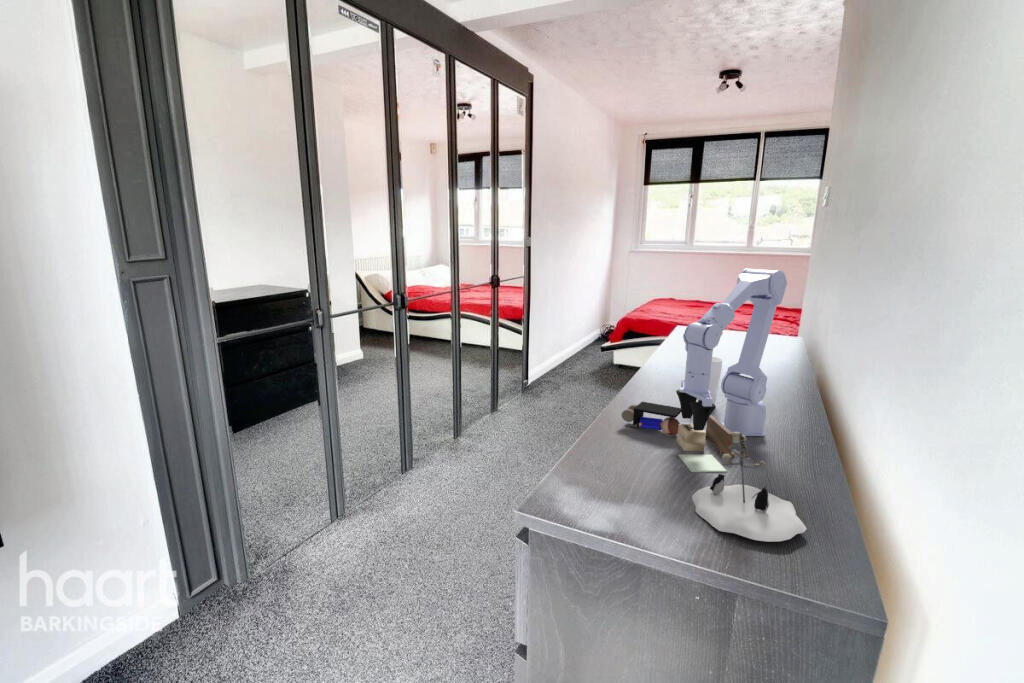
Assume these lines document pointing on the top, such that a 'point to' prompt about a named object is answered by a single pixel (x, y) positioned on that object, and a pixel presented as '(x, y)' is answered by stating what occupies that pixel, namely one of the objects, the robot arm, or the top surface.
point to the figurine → (746, 506)
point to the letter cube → (691, 438)
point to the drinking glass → (714, 377)
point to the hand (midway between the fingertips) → (692, 423)
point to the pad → (701, 463)
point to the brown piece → (719, 436)
